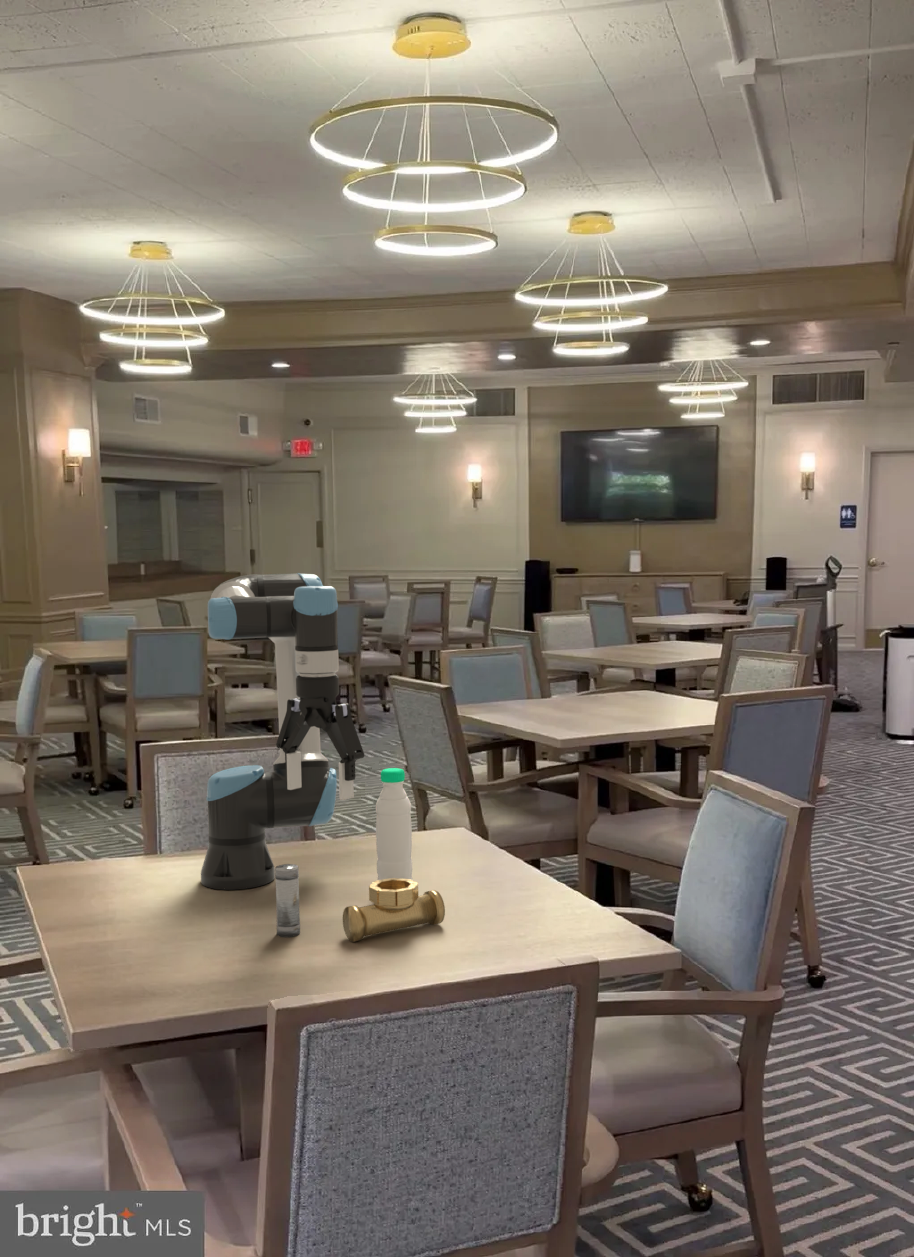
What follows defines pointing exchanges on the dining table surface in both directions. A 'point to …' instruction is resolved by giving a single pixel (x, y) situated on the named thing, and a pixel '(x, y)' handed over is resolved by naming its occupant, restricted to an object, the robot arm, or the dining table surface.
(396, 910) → the tee fitting
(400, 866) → the water bottle
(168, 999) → the dining table surface
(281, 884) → the metal cylinder
